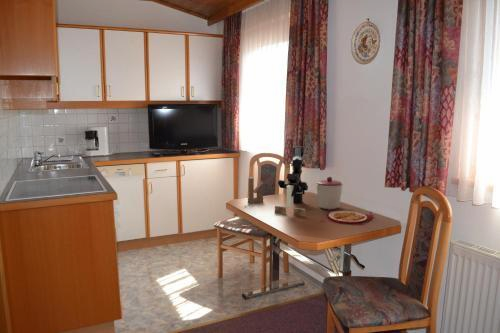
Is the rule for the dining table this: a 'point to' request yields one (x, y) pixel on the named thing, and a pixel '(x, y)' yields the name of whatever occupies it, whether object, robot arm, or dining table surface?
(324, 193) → the canister
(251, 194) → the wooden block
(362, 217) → the plate with food
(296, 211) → the walnut slotted plate
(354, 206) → the dining table surface
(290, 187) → the sage plank
